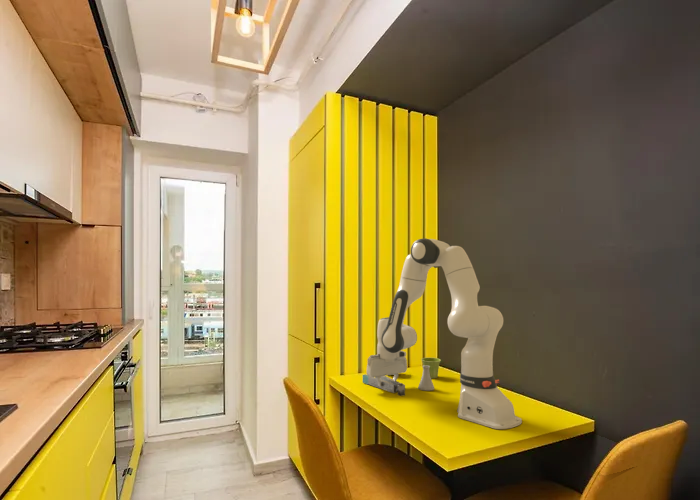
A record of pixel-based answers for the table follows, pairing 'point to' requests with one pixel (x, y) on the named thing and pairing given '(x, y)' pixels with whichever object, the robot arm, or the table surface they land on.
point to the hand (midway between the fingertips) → (387, 384)
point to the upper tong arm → (386, 386)
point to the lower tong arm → (389, 380)
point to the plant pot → (432, 366)
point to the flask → (426, 380)
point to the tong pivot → (401, 389)
